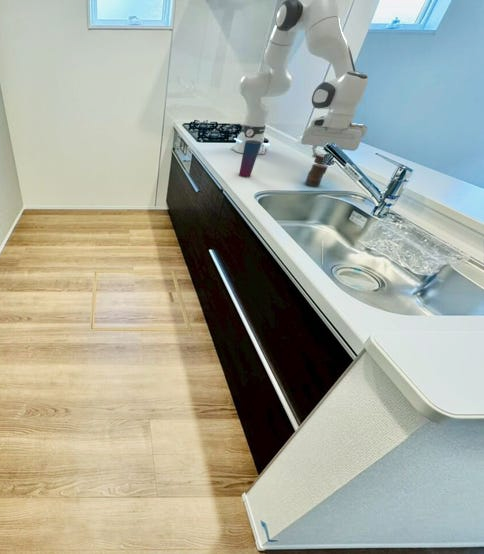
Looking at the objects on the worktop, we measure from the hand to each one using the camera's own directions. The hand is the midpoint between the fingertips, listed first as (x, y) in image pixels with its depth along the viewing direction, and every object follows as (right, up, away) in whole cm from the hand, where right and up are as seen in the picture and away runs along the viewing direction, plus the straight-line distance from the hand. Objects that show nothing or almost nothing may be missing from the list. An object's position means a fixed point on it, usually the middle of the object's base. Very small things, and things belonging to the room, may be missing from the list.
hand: (322, 158), depth 125 cm
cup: (-25, -1, +17) cm, 31 cm away
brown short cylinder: (0, -1, +1) cm, 2 cm away
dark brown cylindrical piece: (0, -9, +7) cm, 11 cm away
